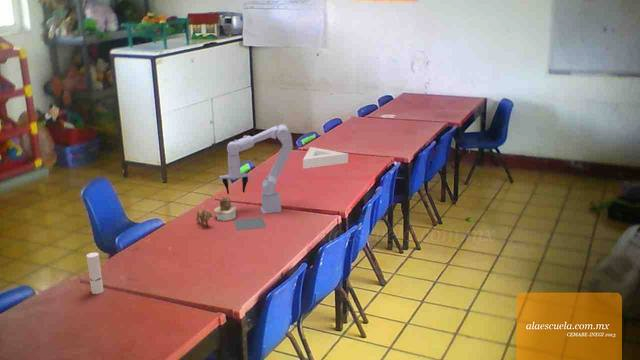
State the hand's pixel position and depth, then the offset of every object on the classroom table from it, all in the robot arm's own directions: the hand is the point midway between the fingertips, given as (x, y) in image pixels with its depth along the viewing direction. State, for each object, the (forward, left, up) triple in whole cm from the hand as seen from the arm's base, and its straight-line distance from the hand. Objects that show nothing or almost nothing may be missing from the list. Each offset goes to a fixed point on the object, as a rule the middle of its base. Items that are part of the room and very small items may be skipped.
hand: (235, 192), depth 321 cm
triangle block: (-65, -74, -11) cm, 99 cm away
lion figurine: (+17, +12, -11) cm, 24 cm away
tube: (+61, +70, -11) cm, 93 cm away
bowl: (+6, +6, -10) cm, 13 cm away
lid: (+6, +6, -6) cm, 11 cm away
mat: (-4, +18, -10) cm, 21 cm away
